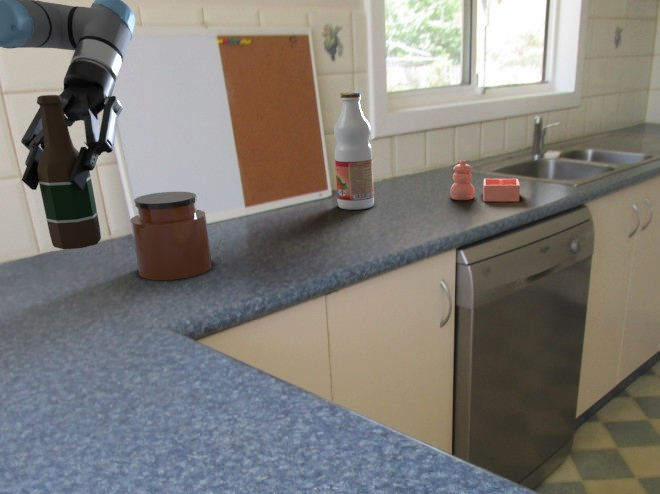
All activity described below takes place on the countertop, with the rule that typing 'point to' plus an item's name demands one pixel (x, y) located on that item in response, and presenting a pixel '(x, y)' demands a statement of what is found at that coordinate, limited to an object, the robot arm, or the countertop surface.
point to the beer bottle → (64, 183)
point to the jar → (170, 236)
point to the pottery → (492, 187)
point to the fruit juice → (353, 156)
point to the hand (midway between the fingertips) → (52, 185)
